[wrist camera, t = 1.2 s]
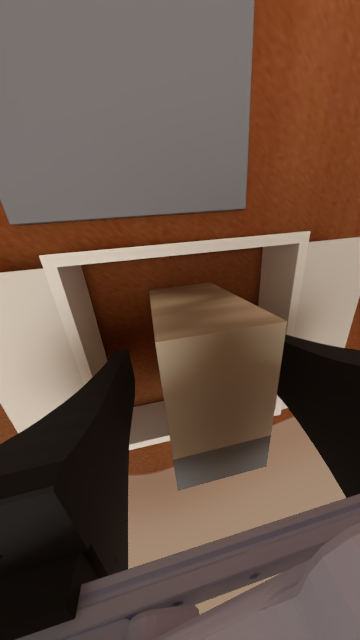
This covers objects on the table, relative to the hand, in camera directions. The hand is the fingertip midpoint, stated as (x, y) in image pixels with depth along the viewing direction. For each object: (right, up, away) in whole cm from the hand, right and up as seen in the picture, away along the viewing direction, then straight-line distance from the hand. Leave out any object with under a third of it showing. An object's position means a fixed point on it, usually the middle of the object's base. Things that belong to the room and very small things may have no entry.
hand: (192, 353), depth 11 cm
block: (0, +1, +2) cm, 3 cm away
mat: (-3, +12, -3) cm, 13 cm away
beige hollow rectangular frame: (0, +1, +2) cm, 3 cm away
